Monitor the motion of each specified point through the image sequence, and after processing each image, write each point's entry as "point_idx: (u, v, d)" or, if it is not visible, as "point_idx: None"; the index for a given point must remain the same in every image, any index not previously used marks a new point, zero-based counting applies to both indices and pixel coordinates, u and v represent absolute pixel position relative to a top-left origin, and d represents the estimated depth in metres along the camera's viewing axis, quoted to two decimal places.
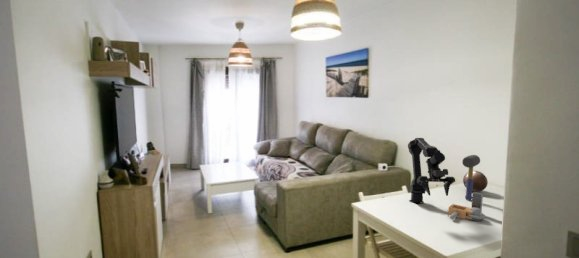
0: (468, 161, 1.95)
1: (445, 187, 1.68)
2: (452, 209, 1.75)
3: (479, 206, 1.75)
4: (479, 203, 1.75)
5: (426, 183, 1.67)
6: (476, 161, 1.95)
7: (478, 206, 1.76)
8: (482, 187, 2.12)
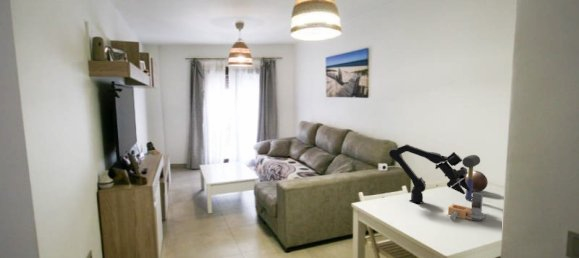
0: (468, 161, 1.95)
1: (462, 184, 1.87)
2: (452, 209, 1.75)
3: (479, 206, 1.75)
4: (479, 203, 1.75)
5: (459, 183, 1.78)
6: (476, 161, 1.95)
7: (478, 206, 1.76)
8: (482, 187, 2.12)
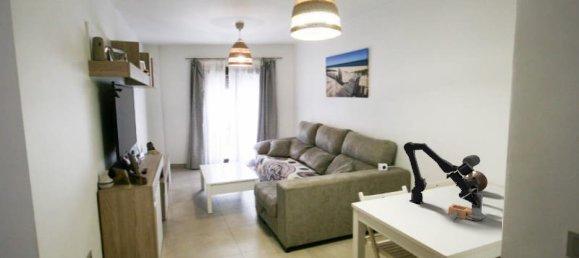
0: (468, 161, 1.95)
1: None
2: (452, 209, 1.75)
3: (479, 206, 1.75)
4: (479, 203, 1.75)
5: (471, 194, 1.74)
6: (476, 161, 1.95)
7: (478, 206, 1.76)
8: (482, 187, 2.12)
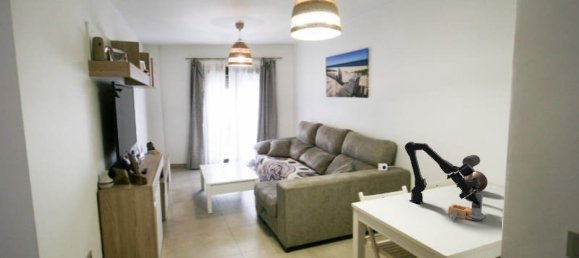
0: (468, 161, 1.95)
1: None
2: (452, 209, 1.75)
3: (479, 206, 1.75)
4: (479, 203, 1.75)
5: (473, 194, 1.75)
6: (476, 161, 1.95)
7: (478, 206, 1.76)
8: (482, 187, 2.12)
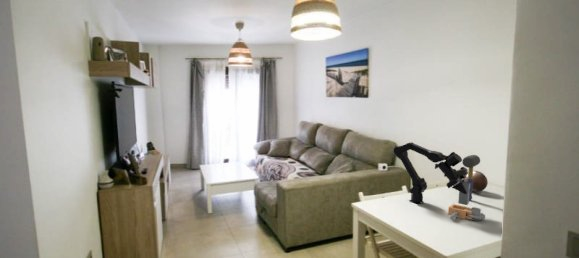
0: (468, 161, 1.95)
1: None
2: (452, 209, 1.75)
3: (466, 195, 1.74)
4: (466, 192, 1.74)
5: (460, 183, 1.74)
6: (476, 161, 1.95)
7: (465, 195, 1.74)
8: (482, 187, 2.12)
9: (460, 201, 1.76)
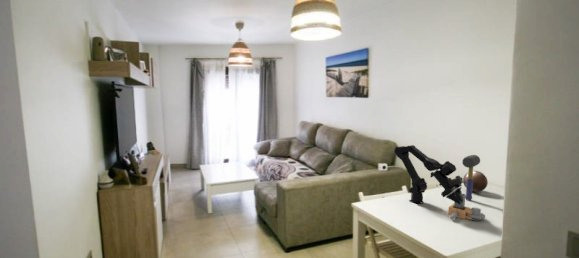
0: (468, 161, 1.95)
1: None
2: (452, 209, 1.75)
3: (461, 207, 1.74)
4: (461, 204, 1.74)
5: (454, 193, 1.73)
6: (476, 161, 1.95)
7: (460, 207, 1.74)
8: (482, 187, 2.12)
9: None
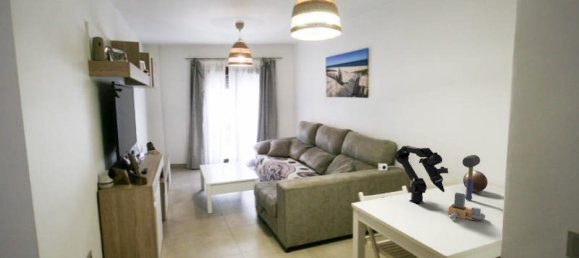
0: (468, 161, 1.95)
1: None
2: (452, 209, 1.75)
3: (461, 207, 1.74)
4: (461, 204, 1.74)
5: None
6: (476, 161, 1.95)
7: (460, 207, 1.74)
8: (482, 187, 2.12)
9: None
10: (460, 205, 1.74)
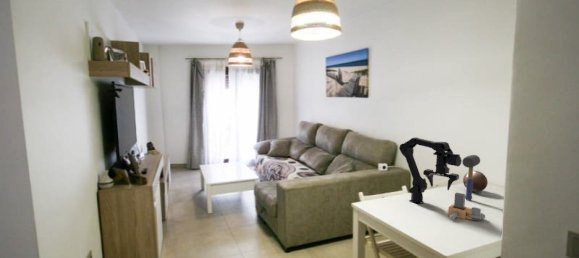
0: (468, 161, 1.95)
1: (431, 179, 1.87)
2: (452, 209, 1.75)
3: (461, 207, 1.74)
4: (461, 204, 1.74)
5: None
6: (476, 161, 1.95)
7: (460, 207, 1.74)
8: (482, 187, 2.12)
9: None
10: (460, 205, 1.74)
